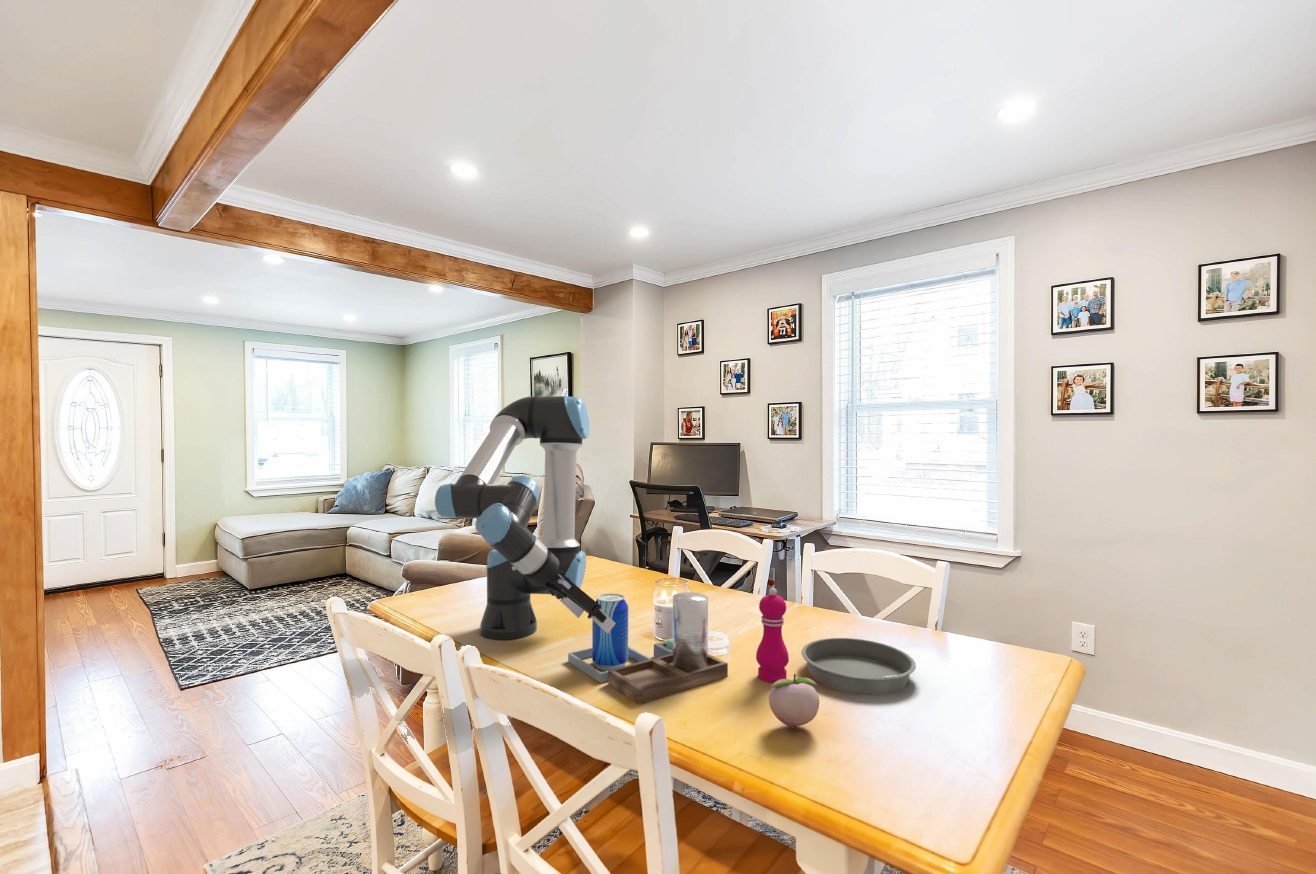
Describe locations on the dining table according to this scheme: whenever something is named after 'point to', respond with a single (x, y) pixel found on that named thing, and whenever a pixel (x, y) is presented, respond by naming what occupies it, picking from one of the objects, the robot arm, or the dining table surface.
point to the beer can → (611, 634)
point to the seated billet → (690, 631)
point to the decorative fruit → (794, 701)
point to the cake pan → (858, 665)
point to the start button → (669, 643)
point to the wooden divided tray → (662, 677)
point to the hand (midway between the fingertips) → (595, 620)
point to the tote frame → (591, 671)
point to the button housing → (661, 649)
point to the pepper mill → (772, 639)
